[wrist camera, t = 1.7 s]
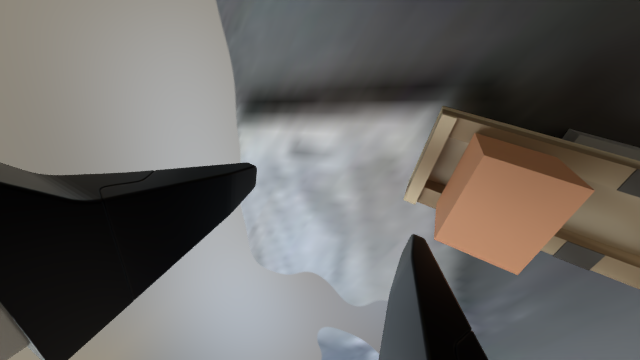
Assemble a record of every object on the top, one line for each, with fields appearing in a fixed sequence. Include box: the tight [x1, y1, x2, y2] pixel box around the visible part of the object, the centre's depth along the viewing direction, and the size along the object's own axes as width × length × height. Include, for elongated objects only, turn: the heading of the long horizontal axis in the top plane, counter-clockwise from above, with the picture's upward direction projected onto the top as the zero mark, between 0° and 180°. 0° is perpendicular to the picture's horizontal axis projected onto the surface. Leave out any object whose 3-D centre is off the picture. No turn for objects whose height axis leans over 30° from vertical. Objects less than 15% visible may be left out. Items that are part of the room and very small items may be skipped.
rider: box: [434, 133, 595, 275], centre depth 14 cm, size 5×4×6 cm
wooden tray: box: [403, 106, 640, 289], centre depth 15 cm, size 7×20×5 cm, turn 78°
